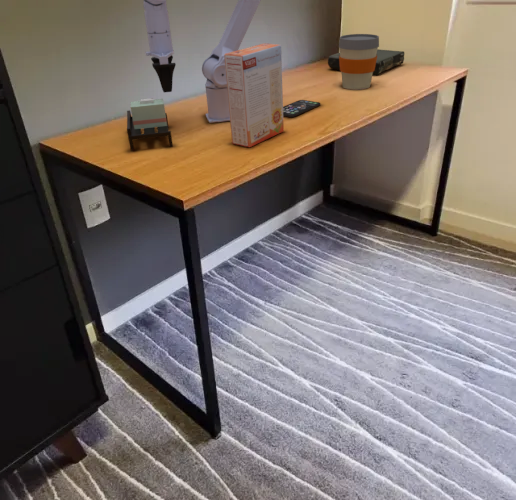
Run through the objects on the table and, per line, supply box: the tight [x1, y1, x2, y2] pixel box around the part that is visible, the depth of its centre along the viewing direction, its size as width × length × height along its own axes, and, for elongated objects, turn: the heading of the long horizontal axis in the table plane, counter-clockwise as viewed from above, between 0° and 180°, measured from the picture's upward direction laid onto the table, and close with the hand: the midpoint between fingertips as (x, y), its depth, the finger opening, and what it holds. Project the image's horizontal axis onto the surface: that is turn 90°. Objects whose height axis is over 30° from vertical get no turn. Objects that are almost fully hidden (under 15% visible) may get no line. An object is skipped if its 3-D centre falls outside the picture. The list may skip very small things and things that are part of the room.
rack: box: [126, 109, 174, 152], centre depth 123 cm, size 10×16×6 cm, turn 13°
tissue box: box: [129, 97, 168, 130], centre depth 121 cm, size 8×5×6 cm, turn 103°
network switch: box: [327, 49, 405, 76], centre depth 182 cm, size 23×24×5 cm
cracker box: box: [224, 42, 285, 148], centre depth 116 cm, size 14×6×21 cm, turn 141°
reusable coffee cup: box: [338, 33, 380, 91], centre depth 157 cm, size 12×13×15 cm
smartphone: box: [283, 99, 321, 118], centre depth 140 cm, size 7×1×15 cm
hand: (166, 88), depth 128 cm, fingers open, 7 cm apart
